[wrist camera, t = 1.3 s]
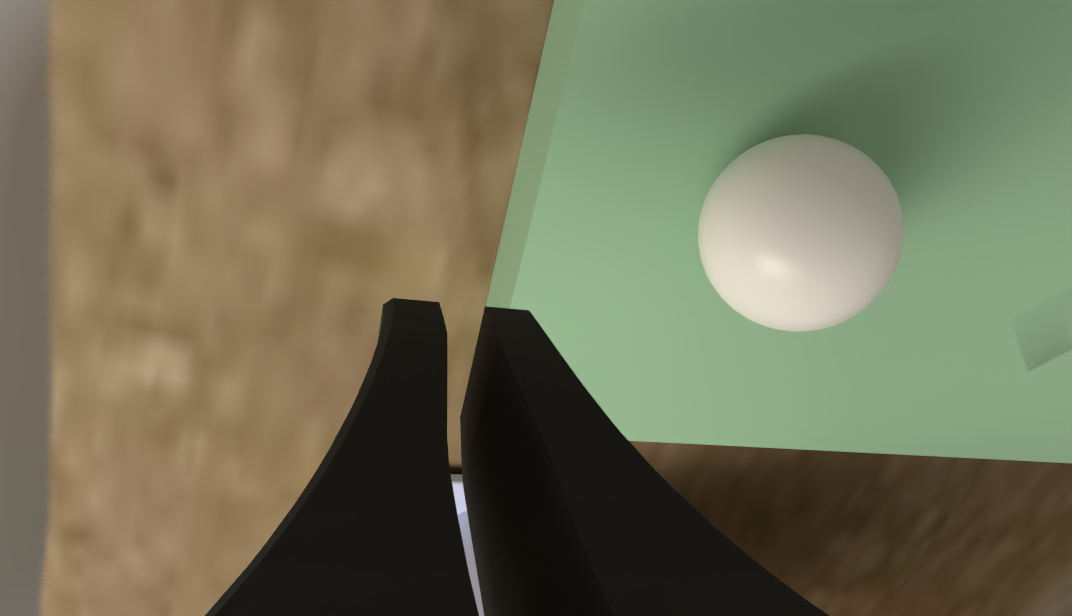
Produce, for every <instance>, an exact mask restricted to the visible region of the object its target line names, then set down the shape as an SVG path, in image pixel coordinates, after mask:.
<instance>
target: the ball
mask: <svg viewBox="0 0 1072 616" xmlns="http://www.w3.org/2000/svg"><path fill="white" fill-rule="evenodd" d="M903 241H904V221H903V213H902V209H901V205H900V202H899V199H898V196H897V194H896V192H895V190H894V188H893V186H892V184H891V182H890V180H889V179H888V177H887V176H886V175H885V173H884V172H883V171H882V170H881V168H880V167H879V166H878V165H877V164H876V163H875V162H874V161H873V160H872V159H870V158H869V157H868V156H867V155H866V154H864V153H863V152H862V151H860V150H858V149H857V148H855V147H853V146H851V145H849V144H847V143H845V142H842V141H840V140H837V139H834V138H829V137H825V136H820V135H812V134H799V135H787V136H781V137H777V138H774V139H770V140H767V141H765V142H762V143H760V144H758V145H756V146H754V147H752V148H750V149H748V150H747V151H745V152H744V153H742V154H741V155H739V156H738V157H737V158H736V159H734V160H733V161H732V162H731V163H730V164H729V165H728V166H727V167H726V168H725V169H724V170H723V171H722V172H721V173H720V175H719V176H718V177H717V179H716V180H715V181H714V183H713V185H712V186H711V188H710V190H709V192H708V194H707V196H706V198H705V201H704V204H703V207H702V210H701V214H700V219H699V225H698V245H699V252H700V257H701V261H702V264H703V267H704V270H705V272H706V274H707V277H708V278H709V280H710V282H711V284H712V286H713V287H714V288H715V290H716V291H717V293H718V294H719V295H720V296H721V298H722V299H723V300H724V301H725V302H726V303H727V304H728V305H730V306H731V307H732V308H733V309H734V310H735V311H737V312H738V313H740V314H741V315H743V316H744V317H746V318H748V319H749V320H751V321H753V322H756V323H758V324H760V325H763V326H766V327H769V328H773V329H778V330H784V331H794V332H802V331H813V330H819V329H824V328H828V327H831V326H834V325H837V324H839V323H842V322H844V321H846V320H848V319H850V318H852V317H853V316H855V315H857V314H858V313H860V312H861V311H862V310H864V309H865V308H866V307H868V306H869V305H870V304H871V303H872V302H873V301H874V300H875V299H876V298H877V297H878V296H879V295H880V294H881V292H882V291H883V290H884V289H885V287H886V286H887V284H888V282H889V281H890V279H891V277H892V276H893V274H894V272H895V270H896V267H897V265H898V262H899V259H900V256H901V251H902V246H903Z"/></svg>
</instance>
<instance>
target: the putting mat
mask: <svg viewBox="0 0 1072 616" xmlns="http://www.w3.org/2000/svg"><path fill="white" fill-rule="evenodd" d="M799 134H812V135H820V136H825V137H829V138H834V139H837V140H840V141H842V142H845V143H847V144H849V145H851V146H853V147H855V148H857V149H858V150H860V151H862V152H863V153H864V154H866V155H867V156H868V157H869V158H870V159H872V160H873V161H874V162H875V163H876V164H877V165H878V166H879V167H880V168H881V170H882V171H883V172H884V173H885V175H886V176H887V177H888V179H889V180H890V182H891V184H892V186H893V188H894V190H895V192H896V194H897V196H898V199H899V202H900V205H901V209H902V213H903V221H904V241H903V246H902V251H901V256H900V259H899V262H898V265H897V267H896V270H895V272H894V274H893V276H892V277H891V279H890V281H889V282H888V284H887V286H886V287H885V289H884V290H883V291H882V292H881V294H880V295H879V296H878V297H877V298H876V299H875V300H874V301H873V302H872V303H871V304H870V305H869V306H868V307H866V308H865V309H864V310H862V311H861V312H860V313H858V314H857V315H855V316H853V317H852V318H850V319H848V320H846V321H844V322H842V323H839V324H837V325H834V326H831V327H828V328H824V329H819V330H813V331H802V332H794V331H784V330H778V329H773V328H769V327H766V326H763V325H760V324H758V323H756V322H753V321H751V320H749V319H748V318H746V317H744V316H743V315H741V314H740V313H738V312H737V311H735V310H734V309H733V308H732V307H731V306H730V305H728V304H727V303H726V302H725V301H724V300H723V299H722V298H721V296H720V295H719V294H718V293H717V291H716V290H715V288H714V287H713V286H712V284H711V282H710V280H709V278H708V277H707V274H706V272H705V270H704V267H703V264H702V261H701V257H700V252H699V245H698V225H699V219H700V214H701V210H702V207H703V204H704V201H705V198H706V196H707V194H708V192H709V190H710V188H711V186H712V185H713V183H714V181H715V180H716V179H717V177H718V176H719V175H720V173H721V172H722V171H723V170H724V169H725V168H726V167H727V166H728V165H729V164H730V163H731V162H732V161H733V160H734V159H736V158H737V157H738V156H739V155H741V154H742V153H744V152H745V151H747V150H748V149H750V148H752V147H754V146H756V145H758V144H760V143H762V142H765V141H767V140H770V139H774V138H777V137H781V136H787V135H799ZM486 306H487V307H498V308H509V309H521V310H529V311H530V312H531V313H532V315H533V316H534V317H535V319H536V320H537V322H538V323H539V324H540V326H541V327H542V328H543V330H544V331H545V333H546V334H547V335H548V337H549V338H550V340H551V341H552V343H553V344H554V345H555V347H556V348H557V350H558V351H559V352H560V354H561V355H562V357H563V358H564V359H565V361H566V362H567V363H568V365H569V366H570V368H571V369H572V370H573V372H574V373H575V374H576V376H577V377H578V379H579V380H580V381H581V383H582V384H583V385H584V387H585V388H586V389H587V390H588V392H589V393H590V394H591V396H592V397H593V398H594V399H595V401H596V402H597V403H598V404H599V406H600V407H601V408H602V410H603V411H604V412H605V413H606V415H607V416H608V417H609V418H610V420H611V421H612V422H613V423H614V425H615V426H616V427H617V428H618V429H619V431H620V432H621V433H622V434H623V435H624V436H625V437H626V439H627V440H628V441H646V442H665V443H685V444H704V445H724V446H744V447H763V448H783V449H802V450H822V451H841V452H861V453H880V454H900V455H920V456H939V457H959V458H978V459H998V460H1017V461H1037V462H1056V463H1072V0H554V3H553V8H552V12H551V17H550V21H549V26H548V30H547V35H546V39H545V43H544V48H543V52H542V57H541V61H540V66H539V70H538V75H537V79H536V84H535V88H534V93H533V97H532V101H531V106H530V110H529V115H528V119H527V124H526V128H525V133H524V137H523V142H522V146H521V151H520V155H519V159H518V164H517V168H516V173H515V177H514V182H513V186H512V191H511V195H510V200H509V204H508V209H507V213H506V217H505V222H504V226H503V231H502V235H501V240H500V244H499V249H498V253H497V258H496V262H495V266H494V271H493V275H492V280H491V284H490V289H489V293H488V298H487V302H486Z"/></svg>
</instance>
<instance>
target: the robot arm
mask: <svg viewBox="0 0 1072 616" xmlns="http://www.w3.org/2000/svg"><path fill="white" fill-rule="evenodd" d="M460 425H461V458H462V475H461V474H451V473H450V467H449V459H448V444H447V331H446V326H445V322H444V317H443V314H442V311H441V307H440V304H439V302H430V301H419V300H408V299H397V298H393V299H391V300H389V301H388V302H386V303H385V304H383V310H382V317H381V324H380V331H379V338H378V344H377V347H376V350H375V353H374V356H373V359H372V362H371V364H370V367H369V369H368V371H367V374H366V376H365V379H364V381H363V383H362V386H361V388H360V390H359V393H358V395H357V397H356V400H355V402H354V404H353V406H352V408H351V410H350V412H349V414H348V415H347V417H346V419H345V421H344V423H343V425H342V427H341V429H340V431H339V432H338V434H337V436H336V438H335V440H334V442H333V444H332V446H331V447H330V449H329V451H328V452H327V454H326V456H325V458H324V459H323V461H322V463H321V464H320V466H319V467H318V469H317V471H316V472H315V474H314V476H313V477H312V479H311V480H310V482H309V483H308V485H307V486H306V488H305V489H304V491H303V492H302V494H301V495H300V497H299V498H298V500H297V501H296V503H295V504H294V506H293V507H292V508H291V510H290V511H289V513H288V514H287V515H286V517H285V518H284V519H283V521H282V522H281V523H280V525H279V526H278V528H277V529H276V530H275V532H274V533H273V534H272V536H271V537H270V539H269V540H268V541H267V543H266V544H265V545H264V546H263V548H262V549H261V550H260V552H259V553H258V554H257V555H256V557H255V558H254V559H253V560H252V562H251V563H250V564H249V565H248V567H247V568H246V569H245V570H244V571H243V572H242V574H241V575H240V576H239V577H238V578H237V579H236V581H235V582H234V583H233V584H232V585H231V586H230V587H229V589H228V590H227V591H226V592H225V593H224V594H223V595H222V597H221V598H220V599H219V600H218V601H217V602H216V604H215V605H214V606H213V607H212V608H211V609H210V610H209V612H208V613H207V614H206V615H205V616H829V615H827V614H826V613H824V612H823V611H822V610H820V609H819V608H817V607H816V606H814V605H813V604H812V603H810V602H809V601H807V600H806V599H804V598H803V597H801V596H800V595H799V594H797V593H796V592H795V591H793V590H792V589H791V588H789V587H788V586H787V585H785V584H784V583H783V582H781V581H780V580H779V579H777V578H776V577H775V576H773V575H772V574H771V573H769V572H768V571H767V570H766V569H764V568H763V567H762V566H761V565H759V564H758V563H757V562H756V561H755V560H753V559H752V558H751V557H750V556H748V555H747V554H746V553H745V552H744V551H742V550H741V549H740V548H739V547H737V546H736V545H735V544H734V543H733V542H731V541H730V540H729V539H728V538H726V537H725V536H724V535H723V534H722V533H721V532H720V531H718V530H717V529H716V528H715V527H714V526H713V525H712V524H710V523H709V522H708V521H707V520H706V519H705V518H704V517H703V516H702V515H701V514H699V513H698V512H697V511H696V510H695V509H694V508H693V507H692V506H691V505H690V504H689V503H688V502H687V501H686V500H685V499H684V498H683V497H682V496H681V495H680V494H679V493H677V492H676V491H675V490H674V489H673V488H672V487H671V486H670V485H669V484H668V483H667V482H666V481H665V480H664V479H663V478H662V477H661V476H660V475H659V474H658V473H657V472H656V471H655V470H654V469H653V467H652V466H651V465H650V464H649V463H648V462H647V461H646V460H645V459H644V458H643V456H642V455H641V454H640V453H639V452H638V451H637V450H636V449H635V448H634V446H633V445H632V444H631V443H630V442H629V441H628V440H627V439H626V437H625V436H624V435H623V434H622V433H621V432H620V431H619V429H618V428H617V427H616V426H615V425H614V423H613V422H612V421H611V420H610V418H609V417H608V416H607V415H606V413H605V412H604V411H603V410H602V408H601V407H600V406H599V404H598V403H597V402H596V401H595V399H594V398H593V397H592V396H591V394H590V393H589V392H588V390H587V389H586V388H585V387H584V385H583V384H582V383H581V381H580V380H579V379H578V377H577V376H576V374H575V373H574V372H573V370H572V369H571V368H570V366H569V365H568V363H567V362H566V361H565V359H564V358H563V357H562V355H561V354H560V352H559V351H558V350H557V348H556V347H555V345H554V344H553V343H552V341H551V340H550V338H549V337H548V335H547V334H546V333H545V331H544V330H543V328H542V327H541V326H540V324H539V323H538V322H537V320H536V319H535V317H534V316H533V315H532V313H531V312H530V311H529V310H521V309H509V308H498V307H487V306H485V309H484V314H483V318H482V323H481V327H480V332H479V336H478V341H477V345H476V350H475V354H474V359H473V363H472V368H471V372H470V376H469V381H468V385H467V390H466V394H465V399H464V403H463V408H462V412H461V417H460Z"/></svg>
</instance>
